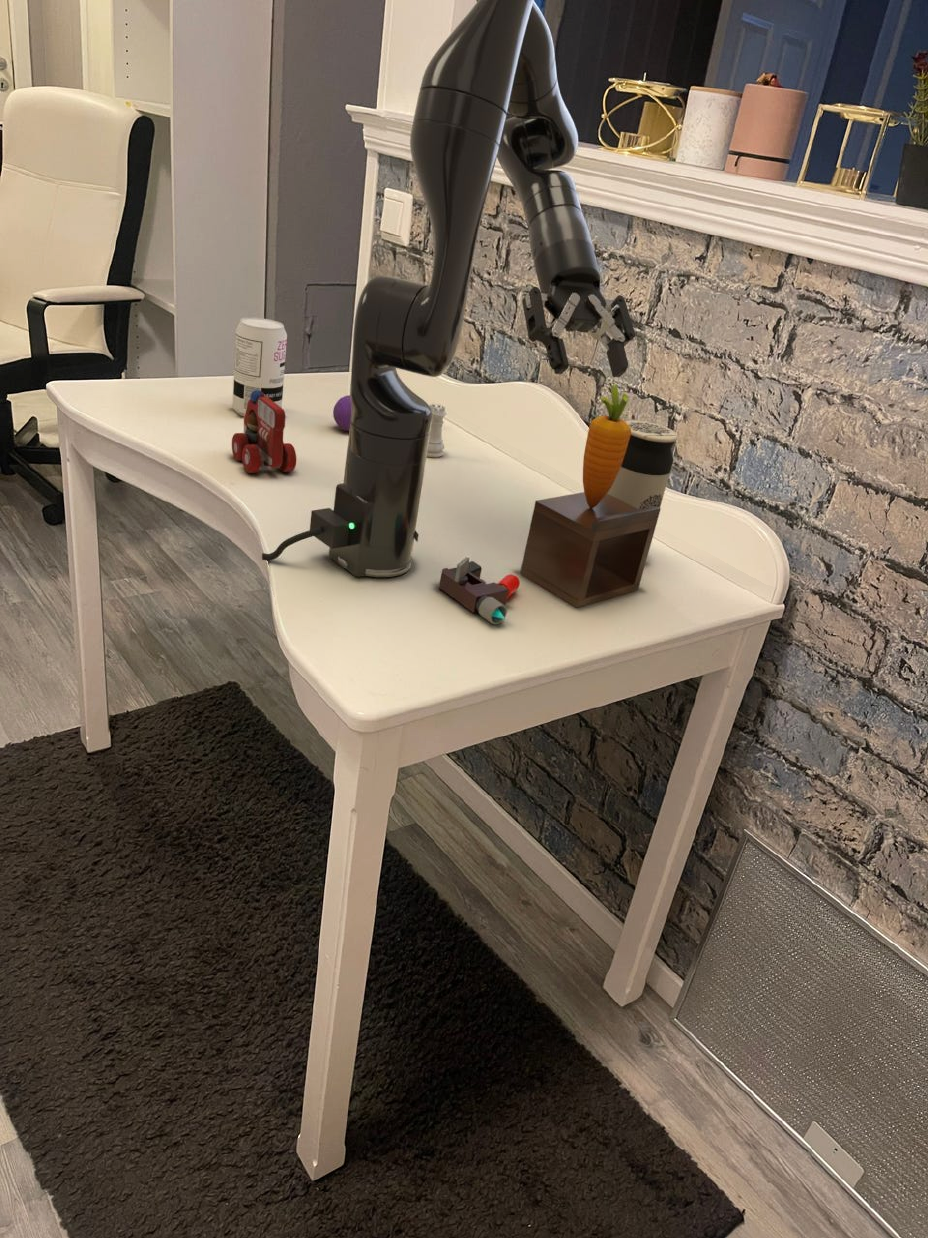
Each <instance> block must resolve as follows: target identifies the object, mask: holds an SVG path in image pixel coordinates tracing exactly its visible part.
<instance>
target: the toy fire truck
mask: <svg viewBox="0 0 928 1238" xmlns="http://www.w3.org/2000/svg"><path fill="white" fill-rule="evenodd" d="M285 428H286V412H285V410H284V409H283V407H282V408H281V407H280V406H278V405H277V404H276V403H275V402H273V401H272V400H271V399H269V398H268V397H265V396H264V393H263V392H262V391H260V390H255V391H253V392H252V393H251V396H250V400H249V401H248V405H247V409H246V413H245V416H244V418H243V432H235V433H234V434H233V435H232V437H231V451H232V455H233V458H234V459H235V460H236V461H238V462H242V466H243V469H244V471H245V472H246V473H247V474H257V473H259V472H260V470H261V468H262V464H263V466H264V467H268V468H271V469H276V468H279V470H280V471H282V472H283V473H291V472H293V471H295V469H296V466H297V453H296V452H297V451H296V448H295V447H294V445H293V444H292V443H289V442H286V443H285V441H284V430H285Z"/></svg>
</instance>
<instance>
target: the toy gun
mask: <svg viewBox="0 0 928 1238" xmlns="http://www.w3.org/2000/svg"><path fill="white" fill-rule="evenodd" d="M482 570H483V567H482V566H481V565H480V564H478V563H477V562H475V560H474V561H473V560H470V557H465V558H463V559H462V560H461V561H460V562H459V563H457V565H456V567H451V568H448V567H443V568H442V569H441V574H440V579H439V586H438V589H440V590H441V591H442V592H444V593H446V594H447V595H448V596H450V597H451V598H453V599H454V600H455V601H457V602H459V603H460V604H461V605H462V606H463V607H464V608H466V609H467V610H469V611H470V612H471V613H478V614H479V615H480V616H481V617H482V618H483V619H485V620H487V621H488V622H489V623H491V624H493V625H499V624H500V623H501V622H503V621H504V620H506V619H505V618H506V617H507V613H508V607H507V606H506V603H507V599H508V598H509V597H510V596H511V595H512V594H513V593H515V592H516V591H517V590H518V589H519V587H520V585H521V583H520V579H519V577H518V576H517V575H515V574H507V575H505V576H504V577H502V578H501V580H499V581H498V582H497V583H496V582H489V583H487V582H486V581H485V580H483V579H481V576H482Z"/></svg>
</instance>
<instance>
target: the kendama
mask: <svg viewBox="0 0 928 1238" xmlns="http://www.w3.org/2000/svg"><path fill="white" fill-rule="evenodd" d="M332 415H333V416H332V417H333V419H334V421H335V423H336V425H337V426H338V428H340V429H341V430H344V431H345V432H349V431H350V422H351V401H350V394H349V395H344V396H342V397H341V398H339V399H338V400H337V401H336V403H335V405H334V407H333V410H332Z"/></svg>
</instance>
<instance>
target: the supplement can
mask: <svg viewBox="0 0 928 1238" xmlns="http://www.w3.org/2000/svg"><path fill="white" fill-rule="evenodd" d="M234 339H235V340H234V342H235V343H234V361H233V363H234V364H233V379H232V380H233V381H232V382H233V383H232V404H231V407H232V409H233V410H234V411H235V413H237V414H238V415H240V416H242V417H245V413H246V409H247V405H248V401H249V400H250V396H251V393H252V392H253V391H255V390H260V391H262V392H263V393H264V396H265V397H268V398H269V399H271V400H272V401H273V402H275V403H276V404H277V405H278V406H280V407H281V408H282V409H283V399H284V397H283V396H284V382H285V368H286V356H287V355H286V354H287V341H288V333H287V331H286V328H285V324H283V323H282V322H280V321H277V320H273V319H269V318H268V319H267V318H262V317H261V318H260V317H243V318H240V321H239V324H238V325H237V327H236V329H235V338H234Z"/></svg>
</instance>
